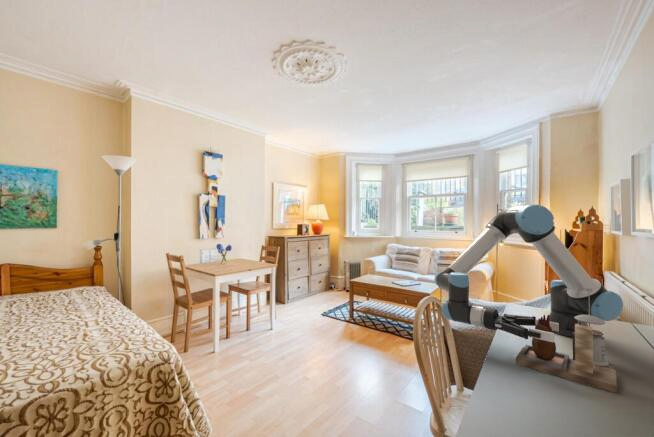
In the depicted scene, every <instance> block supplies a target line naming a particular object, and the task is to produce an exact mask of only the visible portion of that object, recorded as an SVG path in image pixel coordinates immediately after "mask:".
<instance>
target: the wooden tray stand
mask: <svg viewBox="0 0 654 437" xmlns="http://www.w3.org/2000/svg"><path fill="white" fill-rule="evenodd" d="M593 330H594V329H593V326H591V325H590V326H589V325H588V326H585V325H579V324H575V332H574V331H573V334H572V336H573V337H572V354H573V356H572V358H571V357H570V355H569V354H568V353H567V354H565V353H562V352H558V351H556V353H555V356H554V358H553V359H552V360H543V359H540V358H538V357H537V356H536V355H535V353H534V350H533V347H532V345H531V344H530V345H529V344H525V346H522V347H521V349H520V351H519V352H518V353H517V355H516V357H515V365H518V366H522V367H524V368H529V369H531V370H532V369H533V370H536V371H540V372H543V373H546V374H550V375H553V376H557V377H560V378H563V379H567V380H571V381H574V382H577V383H582V384H584V385H587V386H588V385H589V386H591V387H595V388H598V389H601V390H605V391H607V392H608V391H609V392H612V393H616V394H618V383H617V382H618V381H617V372H616V369H614V368H610V367H606V366H600V365H595V364H593Z"/></svg>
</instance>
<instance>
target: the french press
mask: <svg viewBox="0 0 654 437" xmlns="http://www.w3.org/2000/svg"><path fill="white" fill-rule="evenodd" d="M585 291H591V292H592V291H593V290H592V289H591V288H586V289H585ZM574 318H575V319H576V320H578V324H579V321H581V324H582V322H584V323H586V324H588V326H590V327H591V325H598V326H602V325H605V324H606V321H603V320H602V319H600V318H598V317H595V316H591V315H590V296H589V315H578V316H575V317H574ZM584 323H583V325H586V324H584ZM592 330H593V364H595V365H599V366H603V367H606V366H609V365H610V362H608V360H607V359H606V338H605V337H604V333H603V332H602V331H600V330H597V329H592ZM571 356H572V357H573V353H572V354H571Z"/></svg>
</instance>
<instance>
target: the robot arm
mask: <svg viewBox="0 0 654 437" xmlns="http://www.w3.org/2000/svg"><path fill="white" fill-rule="evenodd" d="M555 230H556V226H555V217H554V214H553V212H551V211H550V210H549V208H547V207H546V206H545V205H544V206H543V205H541V204H532V203H530V204H529V203H528V204H524V205H517V206H516V205H514V206H509V207H507V208H504V209H503V210H501V211H499V213H498V214H496V215H495V216H494V217H493V218H492V219H491V220H490V221H488V223H487V224H486V225H485V229H484V230H483V231H482V232H481V234H480V233H479V236H477V237H476V238H475V239H474V241H472V242H471V243H470V244H469V245H468V247H466V248H465V249H464V250H463V252H461V253H460V254H459V255H458V256H457V257H456V259H454V260H453V261H452V263H451V264H449V265H448V267H447V268H446V269H444V271H443V270H442V271H439V272H437V273H436V274H435V276H434V282H435V284H436V286H437V287H438V288H440V289H441V290H444V291H445V292H448V300H444V301H443V303H442V308H441V314H442V316H443V318H445V319H446V320H450V321H451V322H457V323H461V324H467V325H471V326H475V328H485V329H488V330H492V331H497V330H500V331H503V332H505V333H509V334H511V335H514V336H517V337H519V338H522V339H524V340H529V338H536V339H540V340H545V341H549V342H555V334H557V335H560V336H563V337H564V336H565V337H569V338H573V336H572V334H573V331H574V332H575V324H578V320H576V319H575V318H574V317H575V316H578V315H589V296H590V315H591V316H595V317H598V318H600V319H602V320H603V321H604V322H609V321H610V322H611V321H613V320H616V319H617V318H618V317H619V316H620V315H621V314H622V312H623V308H624V301H623V299H622V297H621V296H620V295H619V294H618V293H616V292H614V291H611V290H608V289H607V288H605V286H604V285H603V284H602V282H601V281H600V280H598V279H595V278H592V277H591V276H590V275H589V274H588V272H587V271H586V269H584V267H583V266H582V265H581V264H580V263H579V261H578V260H577V259H576V258H575V257H574V255H573V254H572V253H571V252H570V250H569V249H568V248H567V247H566V245H565V244H564V243H563V242H562V241H561V240H560V238H559V237H558V236H557V235H556V234H555ZM514 234H518V235H519V236H520V238H522V240H523V241H524V242H525V243H527V244H530V245H532V246H533V247H534V248H535V249H536V251H537V253H538V254H540V256H541V257H542V258H543V259H544V261H546V263H547V264H548V266H549V267H550V268H551V269H552V270H553V271H554V273H555V274H556V275H557V276H558V277H559V279H552V280H551V281H550V287H549V289H550V290H549V291H550V313H549V314H548V315H549V322H550V327H551V328H552V333H551V332H546V331H541V330H536V329H535V328H531V327H535V326H536V324H538V319H539V318H538V319H537V317H536V316H534V315H532V316H528V315H526V316H525V315H516V314H507V313H503V315H499V310H497V309H495V308H491V307H490V308H489V307H485V306H479V305H473V304H470V278H469V275H468V273H469V272H470V271H471V270H472V269H473V268H474V267H475V266H476V265H477V264H479V262H480V261H481V260H482V259H483V258H484V257H485V256H486V255H487V254H488V253H490V251H491V250H492V249H494V247H496V245H497V244H498V243H499V242H501V241H505V240H507V238H508V237H509V236H511V235H514ZM586 288H591V289H592V290H593V291H592V292H591V291H585V289H586ZM583 323H584V322H582V324H581V321H579V325H583ZM584 324H586V323H584ZM524 326H528V327H529V326H530V327H529V328H527V327H524ZM585 326H589V323H587V324H586V325H585Z"/></svg>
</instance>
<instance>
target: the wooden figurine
mask: <svg viewBox="0 0 654 437" xmlns="http://www.w3.org/2000/svg"><path fill="white" fill-rule="evenodd" d="M549 315H550V314H547V315H546V314H543V316H540V318H538V324H536V326H534V329H536V330H541V331H546V332H551V333H553V332H552V328H551V327H550V322H549ZM546 316H547V317H546ZM531 338H532V337H531ZM531 346H532V347H533V350H534V353H535V355H536V356H537V357H538V358H540V359H543V360H552V359H553V358H554V356H555V353H556V352H557V345H556V342H555V341H554V342H549V341H545V340H540V339H536V338H532V339H531Z"/></svg>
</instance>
